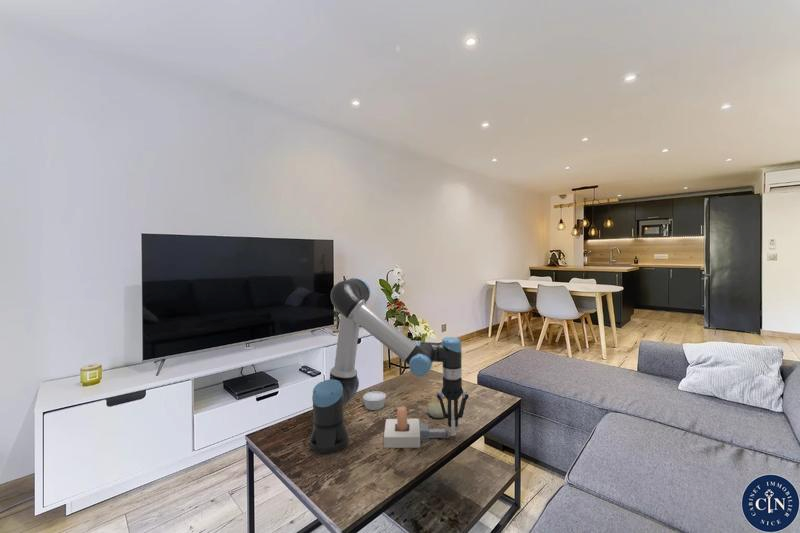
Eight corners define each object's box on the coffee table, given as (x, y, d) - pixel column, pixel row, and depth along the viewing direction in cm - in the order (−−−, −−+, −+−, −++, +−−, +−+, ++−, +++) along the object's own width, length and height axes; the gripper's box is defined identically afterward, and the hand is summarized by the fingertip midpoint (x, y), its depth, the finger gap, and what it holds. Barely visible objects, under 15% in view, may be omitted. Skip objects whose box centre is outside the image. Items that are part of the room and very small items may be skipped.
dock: (383, 447, 131) (383, 437, 131) (386, 428, 145) (386, 419, 145) (420, 447, 131) (420, 436, 130) (419, 428, 145) (419, 418, 144)
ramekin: (386, 400, 172) (386, 390, 171) (385, 411, 161) (385, 400, 160) (364, 401, 172) (364, 391, 172) (361, 411, 161) (361, 401, 160)
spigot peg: (397, 440, 136) (396, 411, 135) (397, 434, 140) (397, 406, 139) (407, 440, 136) (406, 411, 135) (407, 434, 140) (407, 406, 139)
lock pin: (423, 438, 136) (422, 431, 136) (422, 434, 139) (422, 427, 139) (448, 438, 136) (448, 431, 136) (447, 433, 139) (447, 427, 139)
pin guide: (419, 441, 135) (419, 430, 135) (419, 433, 140) (419, 424, 140) (429, 440, 135) (428, 430, 135) (428, 433, 140) (428, 424, 140)
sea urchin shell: (449, 416, 151) (436, 403, 151) (437, 427, 152) (424, 414, 153) (450, 406, 160) (438, 394, 160) (438, 417, 161) (426, 405, 162)
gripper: (436, 380, 132) (437, 439, 134) (470, 380, 132) (470, 439, 133) (435, 373, 140) (436, 429, 141) (466, 373, 140) (467, 429, 141)
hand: (452, 434), depth 137 cm, fingers closed
